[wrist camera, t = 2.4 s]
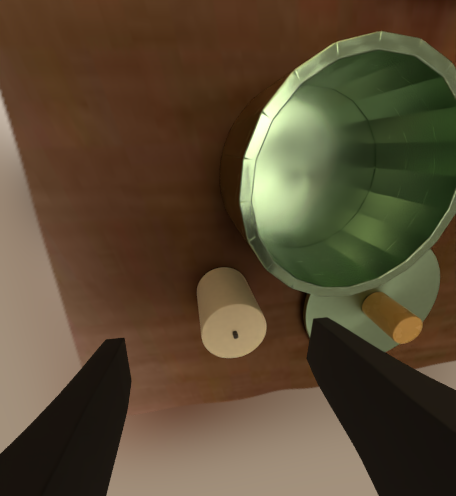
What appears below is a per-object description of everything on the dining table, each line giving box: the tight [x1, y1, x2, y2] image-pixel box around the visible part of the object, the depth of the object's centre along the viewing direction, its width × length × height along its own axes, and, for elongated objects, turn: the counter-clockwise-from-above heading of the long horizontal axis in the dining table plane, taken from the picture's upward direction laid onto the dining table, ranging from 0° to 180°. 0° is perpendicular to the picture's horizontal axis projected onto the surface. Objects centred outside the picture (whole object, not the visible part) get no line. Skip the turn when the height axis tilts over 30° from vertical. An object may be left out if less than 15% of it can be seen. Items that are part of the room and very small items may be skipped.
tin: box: [220, 31, 456, 297], centre depth 15 cm, size 12×12×6 cm
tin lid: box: [303, 249, 440, 352], centre depth 21 cm, size 12×12×5 cm
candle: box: [197, 267, 266, 358], centre depth 17 cm, size 4×4×5 cm
